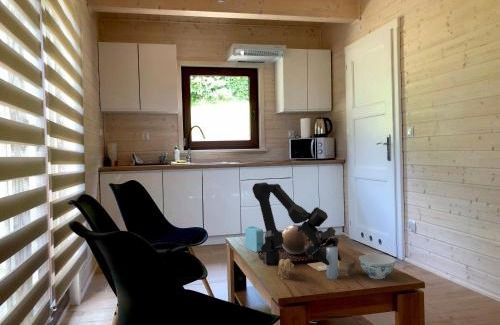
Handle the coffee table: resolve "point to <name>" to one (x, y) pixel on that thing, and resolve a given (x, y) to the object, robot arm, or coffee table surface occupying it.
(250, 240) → the data package
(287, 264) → the lion figurine
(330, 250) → the grey cylinder
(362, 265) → the chinaware
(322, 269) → the envelope
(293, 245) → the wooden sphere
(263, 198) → the robot arm
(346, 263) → the walnut block
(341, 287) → the coffee table surface
